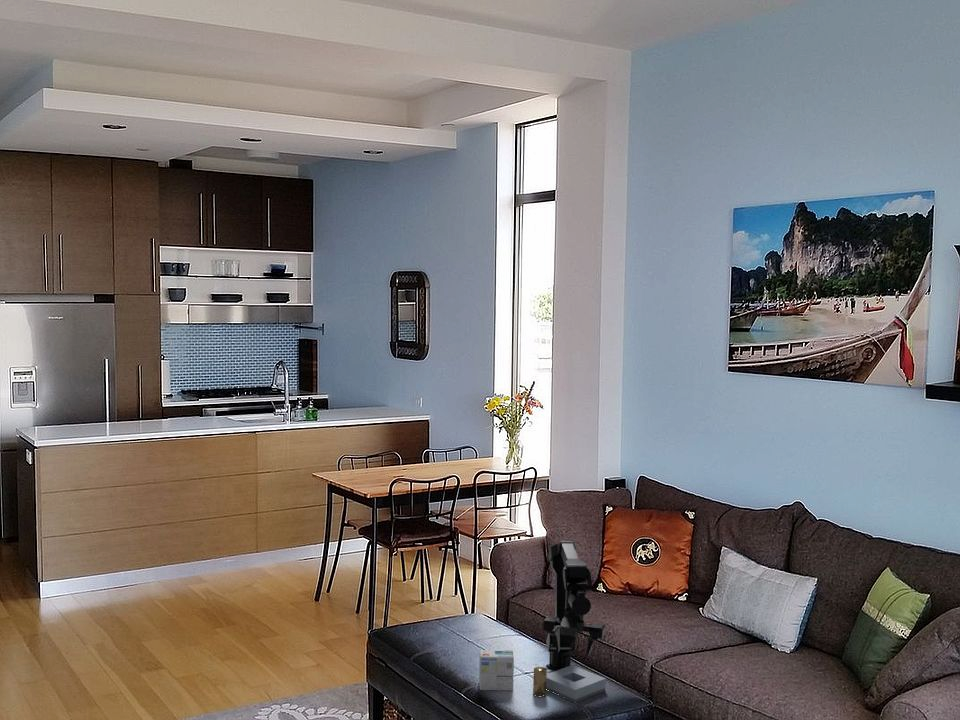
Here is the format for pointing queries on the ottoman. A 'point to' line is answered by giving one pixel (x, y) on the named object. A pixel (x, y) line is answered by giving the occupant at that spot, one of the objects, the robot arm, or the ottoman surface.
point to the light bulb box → (496, 670)
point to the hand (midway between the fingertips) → (572, 654)
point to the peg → (539, 681)
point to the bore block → (575, 683)
